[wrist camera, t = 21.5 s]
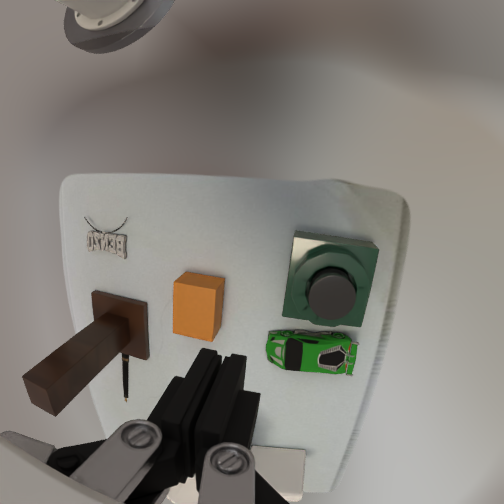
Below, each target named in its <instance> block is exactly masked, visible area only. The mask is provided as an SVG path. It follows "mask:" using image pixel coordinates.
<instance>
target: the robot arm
mask: <svg viewBox="0 0 504 504" xmlns="http://www.w3.org/2000/svg"><path fill="white" fill-rule="evenodd" d="M55 1H57V2H59V3H61V4H63V5H65V6H67V7H69V8H71V9H73V10H75V19H76V21H77V23H78V24H79V25H80V26H81V27H83V28H85V29H87V30H90V31H100V30H105V29H107V28H110V27H112V26H114V25H116V24H118V23H120V22H121V21H123V20H124V19H126V18H127V17H128V16H129V15H131V14H132V13H133V12H134V11H135V10H136V9H137V8H138V7H139V6H140V5H141V4H142V2H143V1H144V0H55ZM246 360H247V356H243V355H238V354H231V356H230V357H227V356H225V358H224V361H223V363H222V356H221V355H217V351H216V350H211V349H206V348H202V349H201V350H200V352H199V354H198V355H197V357H196V359H195V361H194V362H193V364H192V366H191V368H190V369H189V371H188V373H187V374H186V376H185V378H182V377H178V376H175V377H174V378H173V379H172V381H171V382H170V384H169V385H168V387H167V389H166V390H165V392H164V393H163V395H162V397H161V398H160V400H159V401H158V403H157V405H156V406H155V408H154V409H153V411H152V413H151V414H150V416H149V417H148V419H147V420H141V419H136V420H130V421H127V422H125V423H124V424H122V425H121V426H120V427H119V428H118V429H117V430H116V431H115V432H114V433H113V434H112V435H111V436H110V437H109V438H108V439H105V440H100V441H96V442H91V443H85V444H80V445H75V446H69V447H63V448H60V449H56V448H55V446H54V445H51V444H47V443H44V442H41V441H38V440H35V439H33V438H30V437H27V436H24V435H22V434H19V433H16V432H12V431H6V432H3V433H1V434H0V504H161V503H162V502H163V500H164V499H165V497H166V496H167V495H168V493H169V491H170V487H173V486H176V485H178V484H179V483H183V484H185V483H186V480H187V478H188V477H190V478H193V477H194V474H195V475H196V490H197V491H198V493H199V497H198V504H289V503H288V502H287V501H286V500H285V499H284V498H283V497H282V496H281V495H280V494H279V493H278V492H277V491H276V490H275V489H274V488H273V487H272V486H271V485H270V484H269V483H268V482H267V481H266V480H265V479H264V478H263V477H262V476H261V475H260V474H259V473H258V472H257V471H256V470H255V459H254V455H253V454H252V452H251V451H250V450H249V449H250V445H251V441H252V437H253V432H254V428H255V423H256V418H257V413H258V407H259V401H260V393H256V392H250V391H245V390H243V388H244V379H245V370H246Z"/></svg>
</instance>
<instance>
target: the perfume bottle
mask: <svg viewBox="0 0 504 504" xmlns="http://www.w3.org/2000/svg"><path fill="white" fill-rule="evenodd" d="M250 451H251V452H252V454H253V455H254V459H255V470H256V471H257V472H258V473H259V474H260V475H261V476H262V477H263V478H264V479H265V480H266V481H267V482H268V483H269V484H270V485H271V486H272V487H273V488H274V489H275V490H276V491H277V492H278V493H279V494H280V495H281V496H282V497H283V498H284V499H285V500H286V501H300V500H301V499H302V495H303V484H304V472H305V459H306V451H305V450H300V449H285V448H273V447H263V446H254V445H253V446H252V447H251V450H250Z"/></svg>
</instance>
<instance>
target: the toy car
mask: <svg viewBox="0 0 504 504" xmlns="http://www.w3.org/2000/svg"><path fill="white" fill-rule="evenodd" d="M306 332H309V331H304V330H295V332H294V333H293V332H292V331H288V330H285V331H272V332H269V334H268V341H267V344H266V352H267V358H268V360H269V361H270V362H271V363H274V364H275V365H277V366H278V367H280V368H282V369H285V370H292V371H304V372H320V373H329V374H342V373H346V368H347V364H348V369H347V373H346V375H348V376H353V374H352V371H353V368H354V364H355V360H356V353H357V345H359V343H358V342H352V347H351V353H350V346H351V341H352V340H351V339H350V338H349V337H348V336H346V335H344V334H342V333H334V334H333V335H332V331H330V332H318V333H306ZM349 354H350V355H349ZM349 357H350V358H349ZM348 359H349V360H348ZM348 362H349V363H348Z"/></svg>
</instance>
